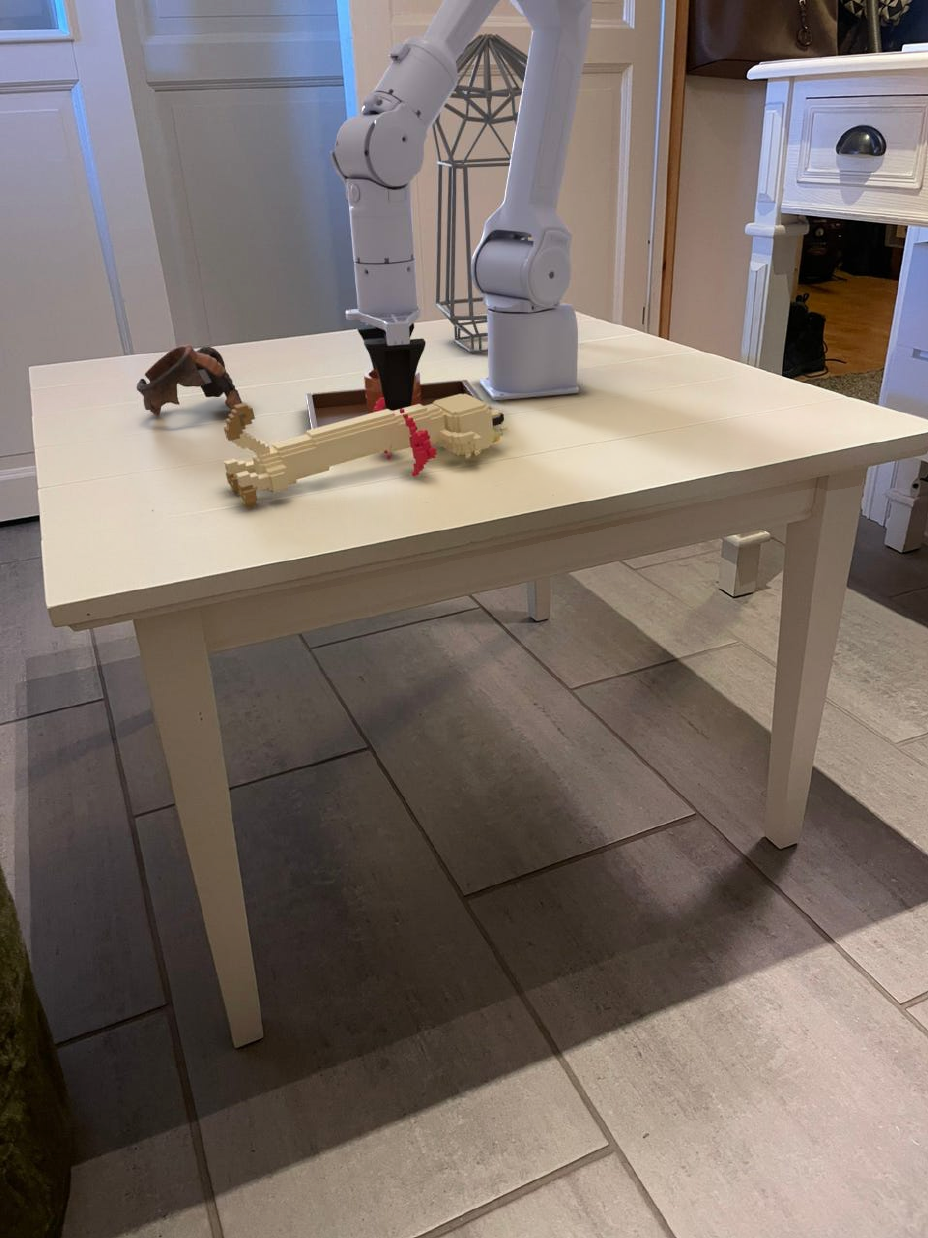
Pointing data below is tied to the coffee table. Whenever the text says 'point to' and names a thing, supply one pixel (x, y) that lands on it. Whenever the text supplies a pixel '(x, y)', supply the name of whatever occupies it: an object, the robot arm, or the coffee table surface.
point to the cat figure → (359, 441)
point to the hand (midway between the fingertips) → (394, 403)
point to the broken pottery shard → (187, 377)
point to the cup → (375, 391)
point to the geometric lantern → (513, 59)
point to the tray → (353, 402)
